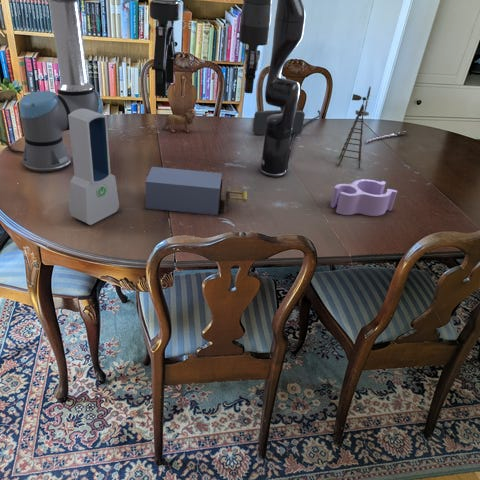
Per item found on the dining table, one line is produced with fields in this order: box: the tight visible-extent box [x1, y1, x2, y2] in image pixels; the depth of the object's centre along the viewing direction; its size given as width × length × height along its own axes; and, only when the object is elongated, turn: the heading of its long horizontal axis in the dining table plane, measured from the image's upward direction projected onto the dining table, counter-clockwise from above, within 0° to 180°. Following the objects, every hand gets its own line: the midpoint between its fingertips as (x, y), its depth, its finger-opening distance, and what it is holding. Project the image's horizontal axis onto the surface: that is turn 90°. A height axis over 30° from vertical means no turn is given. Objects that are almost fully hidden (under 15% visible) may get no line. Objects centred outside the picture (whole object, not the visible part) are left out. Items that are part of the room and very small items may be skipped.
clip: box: [330, 178, 398, 217], centre depth 152 cm, size 20×12×7 cm, turn 109°
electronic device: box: [68, 109, 120, 226], centre depth 127 cm, size 12×8×30 cm, turn 148°
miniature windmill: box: [338, 86, 372, 169], centre depth 177 cm, size 9×8×30 cm
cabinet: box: [144, 166, 223, 216], centre depth 143 cm, size 22×11×9 cm, turn 89°
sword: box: [365, 132, 406, 144], centre depth 214 cm, size 31×3×1 cm, turn 126°
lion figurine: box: [161, 108, 197, 133], centre depth 195 cm, size 15×5×9 cm, turn 110°
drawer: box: [218, 177, 248, 213], centre depth 143 cm, size 26×10×7 cm, turn 89°
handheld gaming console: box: [252, 109, 306, 136], centre depth 203 cm, size 23×3×10 cm, turn 108°
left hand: (164, 89), depth 126 cm, fingers open, 13 cm apart
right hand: (248, 92), depth 126 cm, fingers closed
